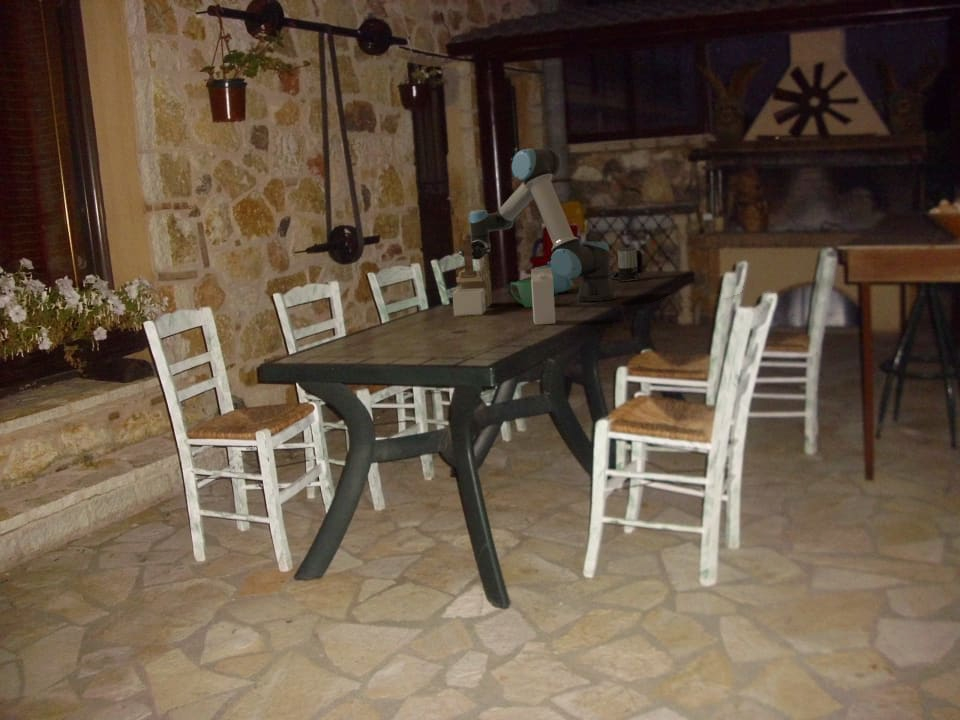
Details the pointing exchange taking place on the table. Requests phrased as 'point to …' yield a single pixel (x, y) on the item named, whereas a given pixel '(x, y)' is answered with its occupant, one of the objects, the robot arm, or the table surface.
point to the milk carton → (542, 296)
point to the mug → (522, 292)
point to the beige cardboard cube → (469, 302)
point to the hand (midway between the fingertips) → (468, 255)
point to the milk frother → (628, 263)
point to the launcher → (478, 283)
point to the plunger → (468, 257)
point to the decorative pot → (558, 280)
